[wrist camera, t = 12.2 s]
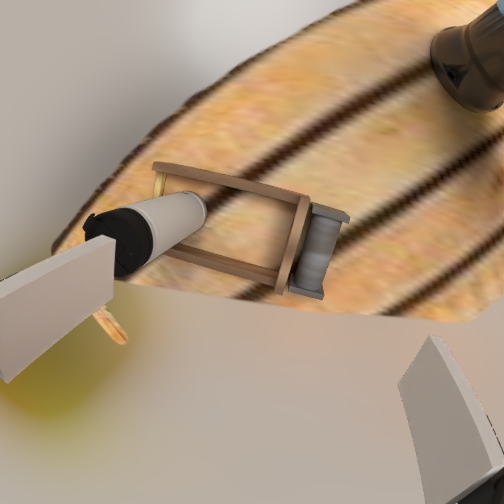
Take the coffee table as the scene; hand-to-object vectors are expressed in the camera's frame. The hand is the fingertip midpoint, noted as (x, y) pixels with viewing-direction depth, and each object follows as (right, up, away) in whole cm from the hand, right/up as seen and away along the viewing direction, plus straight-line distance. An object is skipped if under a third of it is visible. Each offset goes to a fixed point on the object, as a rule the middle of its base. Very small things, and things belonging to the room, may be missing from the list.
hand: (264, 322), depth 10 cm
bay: (-2, +7, +31) cm, 31 cm away
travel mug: (-10, +9, +31) cm, 34 cm away
